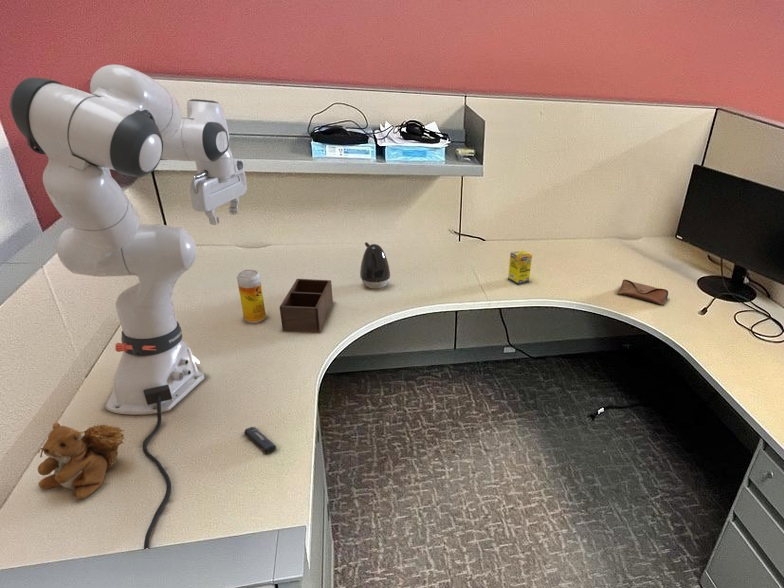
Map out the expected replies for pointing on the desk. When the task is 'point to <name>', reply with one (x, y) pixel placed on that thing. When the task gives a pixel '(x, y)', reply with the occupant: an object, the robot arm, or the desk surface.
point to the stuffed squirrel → (79, 457)
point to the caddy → (306, 305)
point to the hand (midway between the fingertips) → (224, 218)
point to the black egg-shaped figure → (374, 267)
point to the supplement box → (519, 267)
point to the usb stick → (260, 439)
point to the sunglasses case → (643, 292)
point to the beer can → (251, 296)
